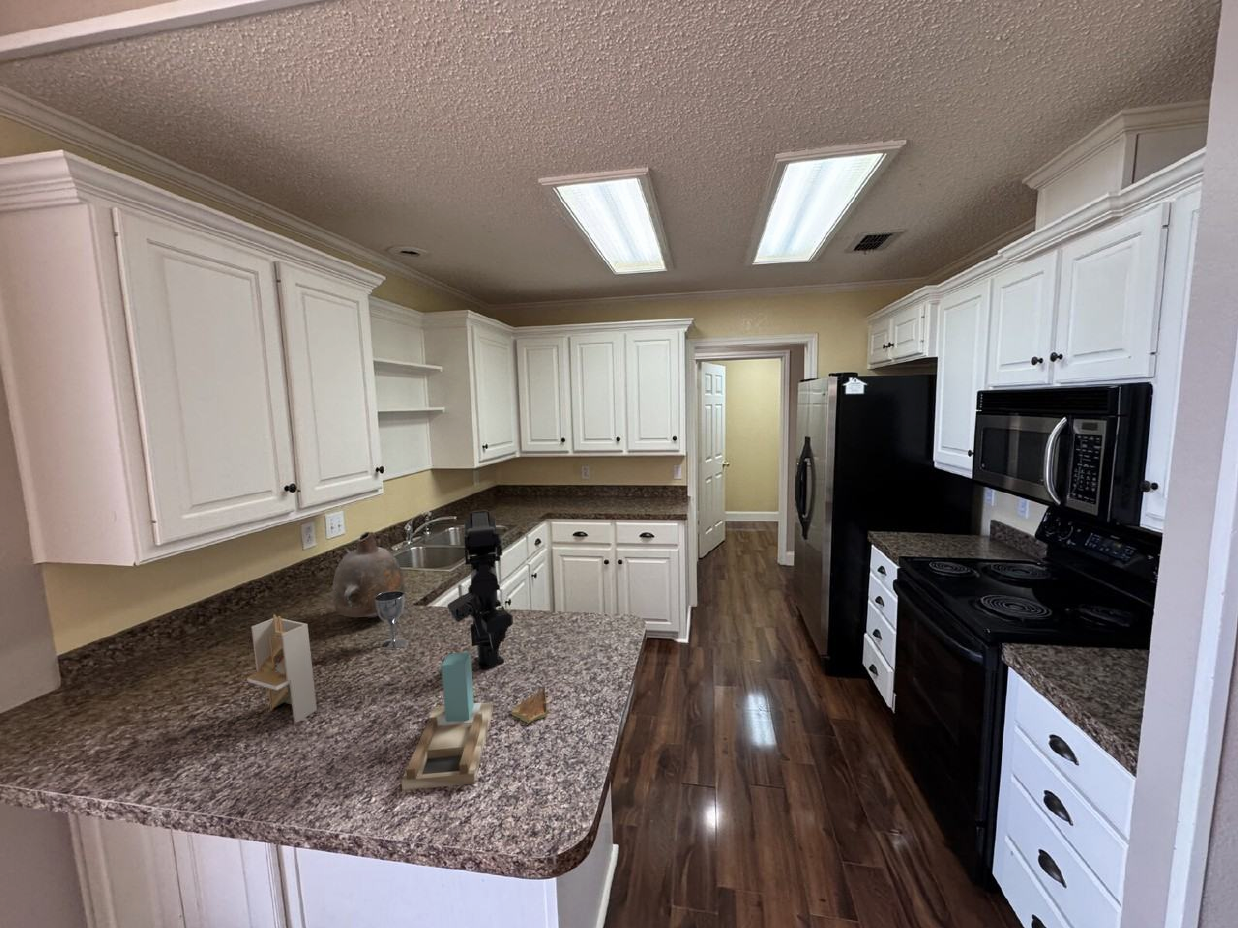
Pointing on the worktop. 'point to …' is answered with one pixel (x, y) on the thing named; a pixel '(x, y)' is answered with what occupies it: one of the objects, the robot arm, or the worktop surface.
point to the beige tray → (448, 750)
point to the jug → (365, 578)
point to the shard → (532, 708)
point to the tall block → (457, 686)
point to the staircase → (285, 664)
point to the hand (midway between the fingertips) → (488, 643)
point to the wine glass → (390, 614)
